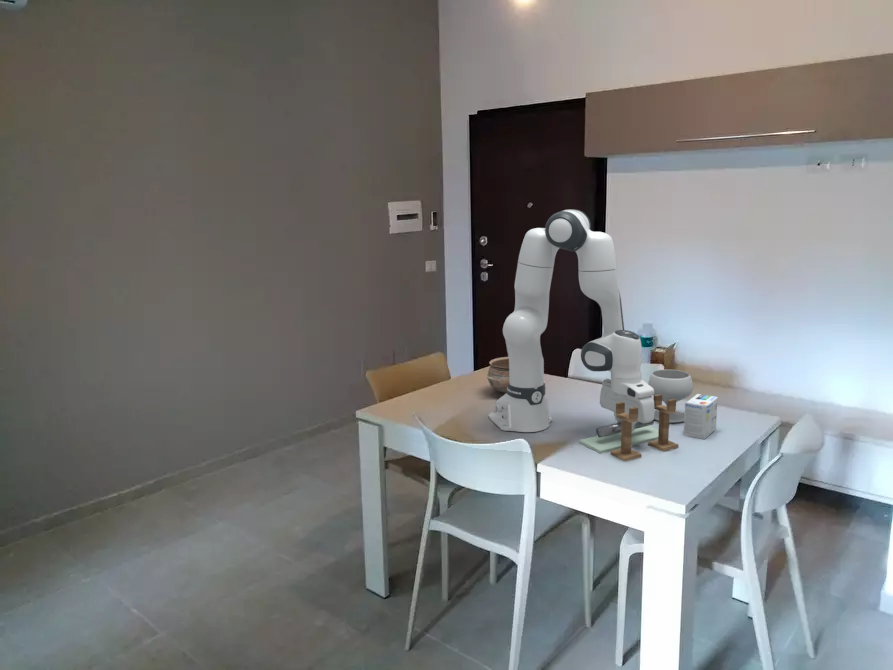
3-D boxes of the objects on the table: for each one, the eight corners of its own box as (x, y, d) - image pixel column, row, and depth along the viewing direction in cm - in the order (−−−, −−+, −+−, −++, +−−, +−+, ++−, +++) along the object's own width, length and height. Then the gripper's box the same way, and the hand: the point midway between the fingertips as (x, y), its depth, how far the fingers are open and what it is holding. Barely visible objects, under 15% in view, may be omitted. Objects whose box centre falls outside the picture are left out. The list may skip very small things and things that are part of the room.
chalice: (697, 424, 210) (699, 379, 207) (652, 425, 211) (654, 380, 208) (684, 410, 224) (686, 368, 221) (642, 411, 225) (644, 368, 222)
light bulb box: (695, 425, 210) (696, 393, 208) (716, 429, 206) (718, 396, 203) (682, 435, 202) (684, 401, 199) (705, 439, 197) (707, 405, 195)
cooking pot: (518, 382, 265) (518, 352, 263) (553, 391, 251) (553, 360, 248) (471, 395, 250) (470, 363, 247) (506, 406, 235) (505, 373, 233)
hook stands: (609, 454, 189) (610, 404, 186) (662, 441, 197) (664, 393, 194) (625, 461, 183) (626, 410, 180) (679, 448, 192) (681, 398, 189)
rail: (602, 439, 194) (602, 429, 193) (595, 435, 196) (596, 425, 195) (653, 426, 202) (654, 417, 202) (646, 422, 205) (647, 413, 204)
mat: (579, 442, 198) (579, 440, 198) (645, 427, 210) (645, 424, 209) (600, 453, 190) (600, 450, 189) (668, 436, 201) (668, 434, 201)
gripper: (595, 378, 204) (594, 421, 207) (641, 394, 186) (640, 440, 189) (610, 375, 207) (610, 417, 210) (658, 391, 189) (657, 436, 192)
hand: (625, 428), depth 199 cm, fingers closed on rail, 3 cm apart
